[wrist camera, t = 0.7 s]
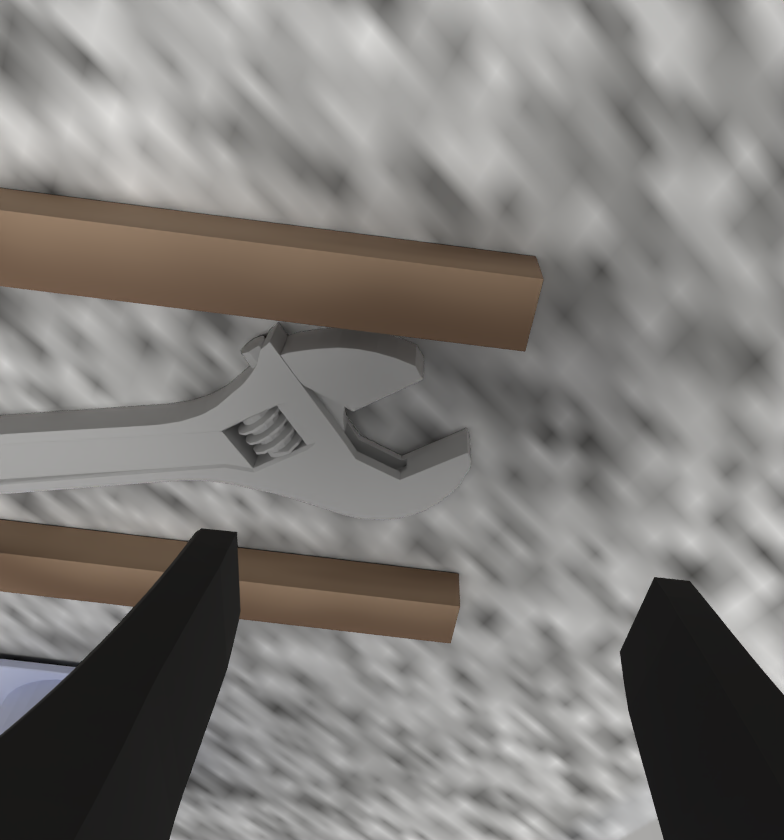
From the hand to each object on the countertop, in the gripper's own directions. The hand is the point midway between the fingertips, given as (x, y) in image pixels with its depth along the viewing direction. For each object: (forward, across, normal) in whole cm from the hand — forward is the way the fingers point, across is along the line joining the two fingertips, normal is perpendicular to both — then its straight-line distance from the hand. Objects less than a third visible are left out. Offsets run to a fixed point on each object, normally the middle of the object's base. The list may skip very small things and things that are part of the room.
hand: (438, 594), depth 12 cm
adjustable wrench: (+10, +11, +4) cm, 15 cm away
